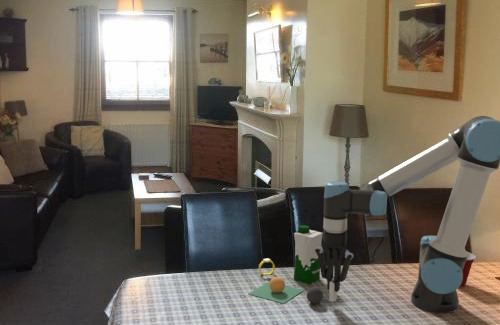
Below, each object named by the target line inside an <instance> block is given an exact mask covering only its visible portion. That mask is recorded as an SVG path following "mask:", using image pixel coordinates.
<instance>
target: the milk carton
mask: <svg viewBox="0 0 500 325" xmlns="http://www.w3.org/2000/svg"><path fill="white" fill-rule="evenodd" d="M293 236H294V244H295V246H294V247H295V248H294V250H295V251H294V270H293V271H294V272H293V281H296V282H300V283H303V284H307V285H311V284H313V283H316V282H318V281H320V277H321V270H320V265H319V259H318V255H317V253H316V251H315V249H317V248H318V247H321V246H322V241H323V232H320V231H317V230H312V229H310V226H309V225H306V224H300V225H298V226H297V231H296V232H294V233H293Z"/></svg>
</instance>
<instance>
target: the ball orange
mask: <svg viewBox="0 0 500 325" xmlns="http://www.w3.org/2000/svg"><path fill="white" fill-rule="evenodd" d="M269 281H270V283H269V287H270V289H271V291H272V292H274V293H280V292H282V291H283V290H284V288H285V285H286V283H285V280H284V279H283V278H282V277H280V276H275V277H273V278H271V279H270V280H269Z"/></svg>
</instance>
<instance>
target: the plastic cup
mask: <svg viewBox="0 0 500 325" xmlns="http://www.w3.org/2000/svg"><path fill="white" fill-rule="evenodd" d="M466 252H467V254H468V256H467V259H466V262H465V265H464V268H463V270H462V273H463V280H462V283H461V285H460V286H459V288H464V287H466V285H467V281H468V278H469V276H470V271H471V268H472V265H473V263H474V261H475V259H476V258H477V256H476V255H475V254H473V253H471V252H469V251H466Z"/></svg>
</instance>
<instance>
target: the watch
mask: <svg viewBox="0 0 500 325" xmlns="http://www.w3.org/2000/svg"><path fill="white" fill-rule="evenodd" d="M265 263H266V264H267V263H271V264H272V268H271V270H270V272H262V270H261V269H262V265H263V264H265ZM275 269H276V266H275V264H274V262H273V261H272V260H271V258H268V257H267V258H263V259H262V260H261V262H260V263H259V264H258V271H259V273H260V274H261V275H262V276H270V275H272V274H274V271H275Z"/></svg>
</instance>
